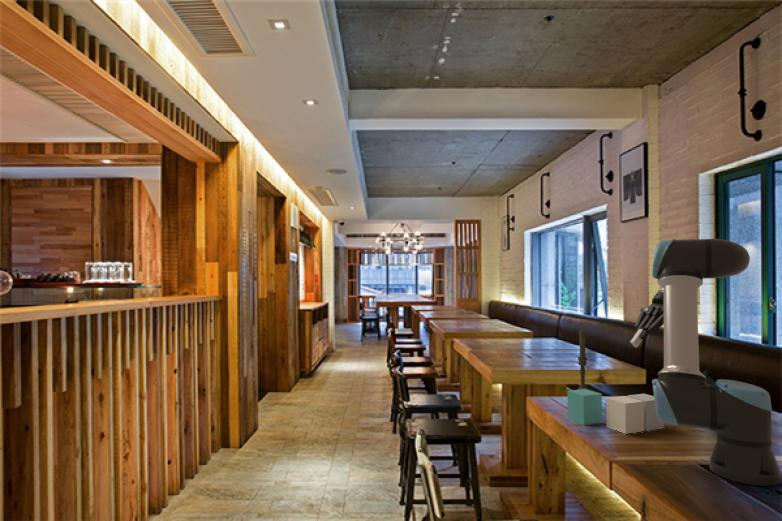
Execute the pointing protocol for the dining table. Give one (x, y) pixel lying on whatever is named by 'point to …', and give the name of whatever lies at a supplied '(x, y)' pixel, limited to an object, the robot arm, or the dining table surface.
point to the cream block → (625, 414)
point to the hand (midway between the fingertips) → (633, 344)
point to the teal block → (584, 406)
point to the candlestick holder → (582, 359)
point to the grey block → (649, 412)
